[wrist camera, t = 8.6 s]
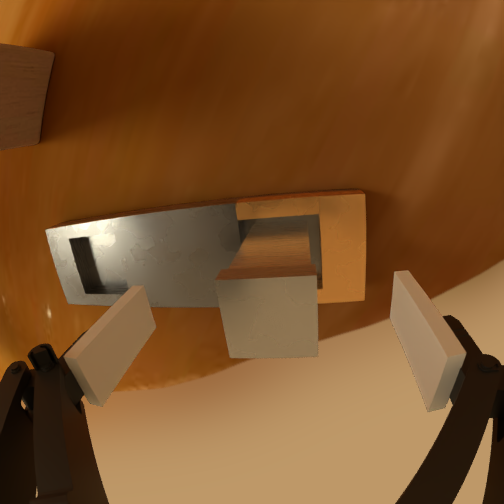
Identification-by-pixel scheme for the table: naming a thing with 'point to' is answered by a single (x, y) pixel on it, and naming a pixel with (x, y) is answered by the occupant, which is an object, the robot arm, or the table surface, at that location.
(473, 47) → the table surface
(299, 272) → the grey tall block
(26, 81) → the wooden block
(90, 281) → the rail
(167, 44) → the table surface
